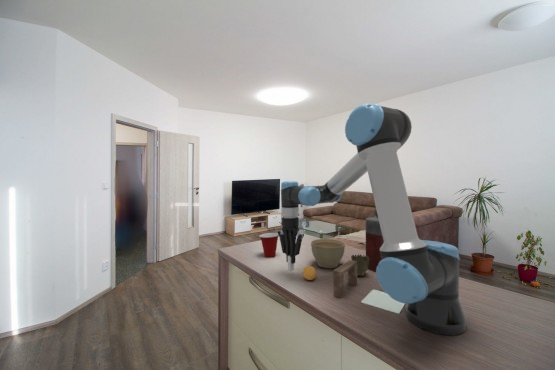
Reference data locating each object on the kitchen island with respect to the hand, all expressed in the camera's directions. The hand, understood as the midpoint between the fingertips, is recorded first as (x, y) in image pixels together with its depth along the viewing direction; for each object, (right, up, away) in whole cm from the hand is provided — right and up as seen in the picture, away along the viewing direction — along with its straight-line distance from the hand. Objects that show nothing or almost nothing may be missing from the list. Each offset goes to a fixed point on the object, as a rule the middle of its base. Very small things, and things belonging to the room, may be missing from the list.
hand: (291, 270), depth 112 cm
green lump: (+30, -2, -2) cm, 30 cm away
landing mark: (+31, -2, -25) cm, 40 cm away
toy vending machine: (+42, -1, +5) cm, 42 cm away
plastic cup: (-10, -1, +26) cm, 28 cm away
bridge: (+20, -2, -16) cm, 26 cm away
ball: (+7, +1, -6) cm, 10 cm away
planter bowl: (+18, -1, +11) cm, 21 cm away
